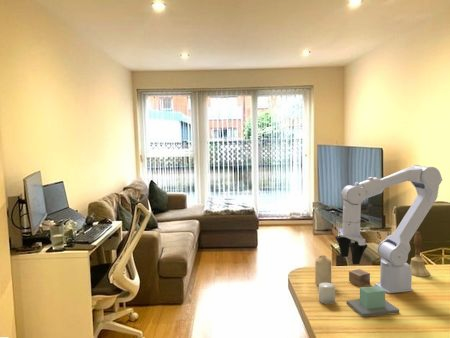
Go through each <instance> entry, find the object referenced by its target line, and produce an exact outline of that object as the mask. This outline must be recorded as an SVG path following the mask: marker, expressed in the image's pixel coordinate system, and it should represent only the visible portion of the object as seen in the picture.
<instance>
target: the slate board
mask: <svg viewBox="0 0 450 338" xmlns="http://www.w3.org/2000/svg"><path fill="white" fill-rule="evenodd" d="M346 305H347V306H349V307H350V308H351V309H352V310H353V311H355V313H357V314H358V315H359V316H360V317H362V318H368V317H376V316H385V315H393V314H399V313H400V309H399V308H398V307H397V306H395V305H393V304H392V303H391V302H389V301H387V300H386V299H385V307H381V308H372V309H366V308H365V307H364V306H363V305H361V304H360V298H359V299H350V300H348V299H347V300H346Z"/></svg>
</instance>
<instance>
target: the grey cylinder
mask: <svg viewBox="0 0 450 338" xmlns="http://www.w3.org/2000/svg"><path fill="white" fill-rule="evenodd" d="M318 301H319V302H320V303H322V304H325V305H332V304H335V302H336V285H335V284H333V283H332V282H331V283H320V284H319V285H318Z"/></svg>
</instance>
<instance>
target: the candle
mask: <svg viewBox="0 0 450 338" xmlns="http://www.w3.org/2000/svg"><path fill="white" fill-rule="evenodd" d="M314 261H315V263H314V264H315V268H314V269H315V270H314V272H315V278H314V280H315V281H314V282H315V285H316V286H319V284H320V283H331V284H332V260H331V259H330V258H329V257H328V256H326V255H319V256H318V257H317V258H316V259H315V260H314Z"/></svg>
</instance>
